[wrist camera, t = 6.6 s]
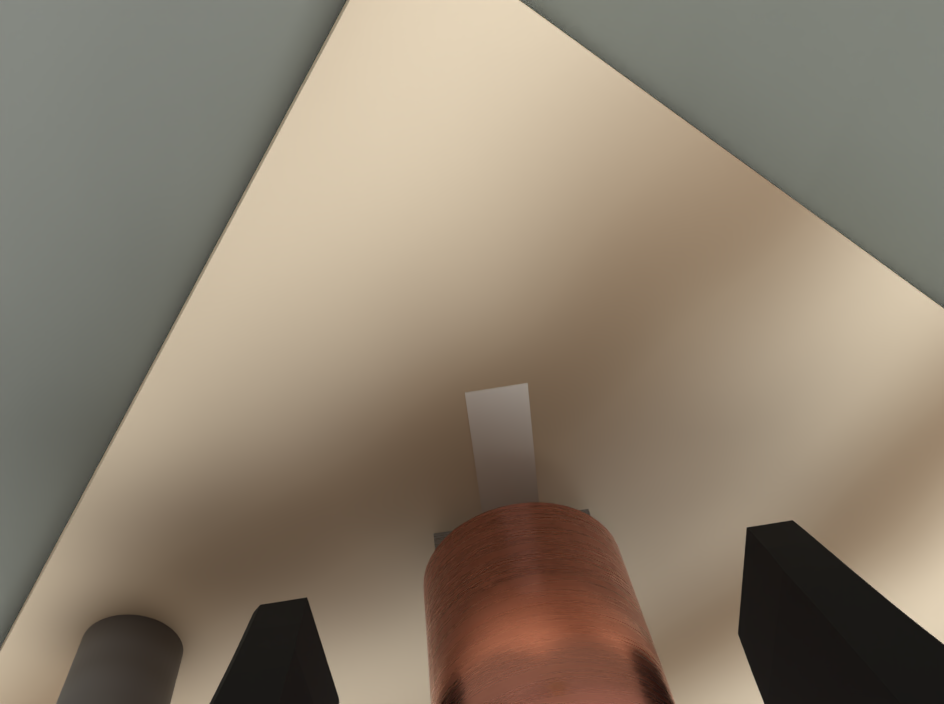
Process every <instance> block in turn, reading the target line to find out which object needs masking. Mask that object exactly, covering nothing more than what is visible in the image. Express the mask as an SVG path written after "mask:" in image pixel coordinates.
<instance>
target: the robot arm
mask: <svg viewBox="0 0 944 704" xmlns="http://www.w3.org/2000/svg"><path fill="white" fill-rule="evenodd" d="M738 636H739V638H740V641H741V644H742V647H743V649H744V652H745V655H746V658H747V660H748V663H749V666H750V668H751V671H752V674H753V676H754V679H755V682H756V684H757V687H758V689H759V692H760V694H761V697H762V699H763V702H764V704H944V644H943V643H942V642H940V641H939V640H938V639H937V638H935V637H934V636H933V635H931V634H930V633H929V632H928V631H926V630H925V629H924V628H923V627H921V626H920V625H919V624H917V623H916V622H915V621H914V620H912V619H911V618H910V617H909V616H907V615H906V614H905V613H904V612H902V611H901V610H900V609H899V608H897V607H896V606H895V605H894V604H893V603H891V602H890V601H889V600H888V599H886V598H885V597H884V596H883V595H882V594H880V593H879V592H878V591H877V590H876V589H874V588H873V587H872V586H871V585H870V584H868V583H867V582H866V581H865V580H864V579H862V578H861V577H860V576H859V575H858V574H856V573H855V572H854V571H853V570H852V569H850V568H849V567H848V566H847V565H846V564H845V563H843V562H842V561H841V560H840V559H839V558H837V557H836V556H835V555H834V554H833V553H832V552H830V551H829V550H828V549H827V548H826V547H824V546H823V545H822V544H821V543H820V542H819V541H817V540H816V539H815V538H814V537H813V536H811V535H810V534H809V533H808V532H807V531H805V530H804V529H803V528H802V527H801V526H799V525H798V524H797V523H796V522H794V521H793V520H790V521H784V522H778V523H771V524H765V525H759V526H752V527H747V530H746V542H745V554H744V566H743V578H742V590H741V602H740V614H739V626H738ZM210 704H339V697H338V694H337V691H336V687H335V684H334V681H333V678H332V675H331V672H330V668H329V665H328V662H327V659H326V656H325V652H324V649H323V646H322V643H321V640H320V637H319V633H318V630H317V627H316V624H315V621H314V618H313V614H312V611H311V608H310V605H309V602H308V598H307V597H306V598H299V599H293V600H287V601H281V602H274V603H268V604H262V605H259V607H258V608H257V609H256V610H255V611H254V612H253V614H252V617H251V619H250V621H249V623H248V625H247V628H246V630H245V632H244V634H243V636H242V638H241V641H240V643H239V645H238V647H237V649H236V651H235V653H234V655H233V657H232V660H231V662H230V664H229V666H228V668H227V670H226V672H225V674H224V676H223V678H222V680H221V682H220V684H219V686H218V688H217V690H216V692H215V694H214V696H213V698H212V700H211V702H210Z"/></svg>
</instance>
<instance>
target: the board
mask: <svg viewBox="0 0 944 704" xmlns="http://www.w3.org/2000/svg"><path fill="white" fill-rule="evenodd" d="M528 502H543V503H553V504H559V505H564V506H568V507H571V508H574V509H577V510H584V509H589V512H590V515H591V516H592V517H593V518H594V519H596V520H597V521H599V522H600V523H601V524H602V525H603V526H604V527H606V528H607V530H608V531H609V532H610V533H611V535H612V536H613V537H614V539H615V541H616V543H617V545H618V547H619V550H620V553H621V556H622V558H623V561H624V564H625V567H626V569H627V572H628V575H629V578H630V580H631V583H632V586H633V589H634V591H635V594H636V597H637V600H638V602H639V605H640V608H641V610H642V613H643V616H644V619H645V621H646V624H647V627H648V630H649V632H650V635H651V638H652V641H653V643H654V646H655V649H656V652H657V654H658V657H659V660H660V663H661V665H662V668H663V671H664V673H665V676H666V679H667V682H668V684H669V687H670V690H671V693H672V695H673V698H674V701H675V704H764V702H763V699H762V697H761V694H760V692H759V689H758V687H757V684H756V682H755V679H754V676H753V674H752V671H751V668H750V666H749V663H748V660H747V658H746V655H745V652H744V649H743V647H742V644H741V641H740V638H739V636H738V626H739V614H740V602H741V590H742V578H743V566H744V554H745V542H746V530H747V527H752V526H759V525H765V524H771V523H778V522H784V521H790V520H793V521H794V522H796V523H797V524H798V525H799V526H801V527H802V528H803V529H804V530H805V531H807V532H808V533H809V534H810V535H811V536H813V537H814V538H815V539H816V540H817V541H819V542H820V543H821V544H822V545H823V546H824V547H826V548H827V549H828V550H829V551H830V552H832V553H833V554H834V555H835V556H836V557H837V558H839V559H840V560H841V561H842V562H843V563H845V564H846V565H847V566H848V567H849V568H850V569H852V570H853V571H854V572H855V573H856V574H858V575H859V576H860V577H861V578H862V579H864V580H865V581H866V582H867V583H868V584H870V585H871V586H872V587H873V588H874V589H876V590H877V591H878V592H879V593H880V594H882V595H883V596H884V597H885V598H886V599H888V600H889V601H890V602H891V603H893V604H894V605H895V606H896V607H897V608H899V609H900V610H901V611H902V612H904V613H905V614H906V615H907V616H909V617H910V618H911V619H912V620H914V621H915V622H916V623H917V624H919V625H920V626H921V627H923V628H924V629H925V630H926V631H928V632H929V633H930V634H931V635H933V636H934V637H935V638H937V639H938V640H939V641H940V642H942V643H943V644H944V308H943V307H941V306H940V305H939V304H937V303H936V302H934V301H933V300H932V299H930V298H929V297H928V296H926V295H925V294H923V293H922V292H921V291H919V290H918V289H917V288H915V287H914V286H912V285H911V284H910V283H908V282H907V281H906V280H904V279H903V278H901V277H900V276H899V275H897V274H896V273H895V272H893V271H892V270H890V269H889V268H888V267H886V266H885V265H884V264H882V263H881V262H879V261H878V260H877V259H875V258H874V257H873V256H871V255H870V254H868V253H867V252H866V251H864V250H863V249H861V248H860V247H859V246H857V245H856V244H855V243H853V242H852V241H850V240H849V239H848V238H846V237H845V236H844V235H842V234H841V233H839V232H838V231H837V230H835V229H834V228H833V227H831V226H830V225H828V224H827V223H826V222H824V221H823V220H822V219H820V218H819V217H817V216H816V215H815V214H813V213H812V212H811V211H809V210H808V209H806V208H805V207H804V206H802V205H801V204H800V203H798V202H797V201H795V200H794V199H793V198H791V197H790V196H789V195H787V194H786V193H784V192H783V191H782V190H780V189H779V188H778V187H776V186H775V185H773V184H772V183H771V182H769V181H768V180H767V179H765V178H764V177H762V176H761V175H760V174H758V173H757V172H756V171H754V170H753V169H751V168H750V167H749V166H747V165H746V164H745V163H743V162H742V161H740V160H739V159H738V158H736V157H735V156H734V155H732V154H731V153H729V152H728V151H727V150H725V149H724V148H723V147H721V146H720V145H718V144H717V143H716V142H714V141H713V140H712V139H710V138H709V137H707V136H706V135H705V134H703V133H702V132H701V131H699V130H698V129H696V128H695V127H694V126H692V125H691V124H689V123H688V122H687V121H685V120H684V119H683V118H681V117H680V116H678V115H677V114H676V113H674V112H673V111H672V110H670V109H669V108H667V107H666V106H665V105H663V104H662V103H661V102H659V101H658V100H656V99H655V98H654V97H652V96H651V95H650V94H648V93H647V92H645V91H644V90H643V89H641V88H640V87H639V86H637V85H636V84H634V83H633V82H632V81H630V80H629V79H628V78H626V77H625V76H623V75H622V74H621V73H619V72H618V71H617V70H615V69H614V68H612V67H611V66H610V65H608V64H607V63H606V62H604V61H603V60H601V59H600V58H599V57H597V56H596V55H595V54H593V53H592V52H590V51H589V50H588V49H586V48H585V47H584V46H582V45H581V44H579V43H578V42H577V41H575V40H574V39H573V38H571V37H570V36H568V35H567V34H566V33H564V32H563V31H562V30H560V29H559V28H557V27H556V26H555V25H553V24H552V23H551V22H549V21H548V20H546V19H545V18H544V17H542V16H541V15H540V14H538V13H537V12H535V11H534V10H533V9H531V8H530V7H529V6H527V5H526V4H524V3H523V2H522V1H520V0H347V1H346V3H345V5H344V6H343V8H342V10H341V12H340V14H339V16H338V18H337V20H336V21H335V23H334V25H333V27H332V29H331V31H330V33H329V35H328V36H327V38H326V40H325V42H324V44H323V46H322V48H321V49H320V51H319V53H318V55H317V57H316V59H315V61H314V63H313V64H312V66H311V68H310V70H309V72H308V74H307V76H306V78H305V79H304V81H303V83H302V85H301V87H300V89H299V91H298V92H297V94H296V96H295V98H294V100H293V102H292V104H291V106H290V107H289V109H288V111H287V113H286V115H285V117H284V119H283V121H282V122H281V124H280V126H279V128H278V130H277V132H276V134H275V135H274V137H273V139H272V141H271V143H270V145H269V147H268V149H267V150H266V152H265V154H264V156H263V158H262V160H261V162H260V163H259V165H258V167H257V169H256V171H255V173H254V175H253V177H252V178H251V180H250V182H249V184H248V186H247V188H246V190H245V192H244V193H243V195H242V197H241V199H240V201H239V203H238V205H237V206H236V208H235V210H234V212H233V214H232V216H231V218H230V220H229V221H228V223H227V225H226V227H225V229H224V231H223V233H222V235H221V236H220V238H219V240H218V242H217V244H216V246H215V248H214V249H213V251H212V253H211V255H210V257H209V259H208V261H207V263H206V264H205V266H204V268H203V270H202V272H201V274H200V276H199V278H198V279H197V281H196V283H195V285H194V287H193V289H192V291H191V292H190V294H189V296H188V298H187V300H186V302H185V304H184V306H183V307H182V309H181V311H180V313H179V315H178V317H177V319H176V321H175V322H174V324H173V326H172V328H171V330H170V332H169V334H168V335H167V337H166V339H165V341H164V343H163V345H162V347H161V349H160V350H159V352H158V354H157V356H156V358H155V360H154V362H153V363H152V365H151V367H150V369H149V371H148V373H147V375H146V377H145V378H144V380H143V382H142V384H141V386H140V388H139V390H138V392H137V393H136V395H135V397H134V399H133V401H132V403H131V405H130V406H129V408H128V410H127V412H126V414H125V416H124V418H123V420H122V421H121V423H120V425H119V427H118V429H117V431H116V433H115V435H114V436H113V438H112V440H111V442H110V444H109V446H108V448H107V449H106V451H105V453H104V455H103V457H102V459H101V461H100V463H99V464H98V466H97V468H96V470H95V472H94V474H93V476H92V478H91V479H90V481H89V483H88V485H87V487H86V489H85V491H84V492H83V494H82V496H81V498H80V500H79V502H78V504H77V506H76V507H75V509H74V511H73V513H72V515H71V517H70V519H69V521H68V522H67V524H66V526H65V528H64V530H63V532H62V534H61V535H60V537H59V539H58V541H57V543H56V545H55V547H54V549H53V550H52V552H51V554H50V556H49V558H48V560H47V562H46V563H45V565H44V567H43V569H42V571H41V573H40V575H39V577H38V578H37V580H36V582H35V584H34V586H33V588H32V590H31V592H30V593H29V595H28V597H27V599H26V601H25V603H24V605H23V606H22V608H21V610H20V612H19V614H18V616H17V618H16V620H15V621H14V623H13V625H12V627H11V629H10V631H9V633H8V635H7V636H6V638H5V640H4V642H3V644H2V646H1V648H0V704H210V702H211V700H212V698H213V696H214V694H215V692H216V690H217V688H218V686H219V684H220V682H221V680H222V678H223V676H224V674H225V672H226V670H227V668H228V666H229V664H230V662H231V660H232V657H233V655H234V653H235V651H236V649H237V647H238V645H239V643H240V641H241V638H242V636H243V634H244V632H245V630H246V628H247V625H248V623H249V621H250V619H251V617H252V614H253V612H254V611H255V610H256V609H257V608H258V607H259V605H262V604H268V603H274V602H281V601H287V600H293V599H299V598H306V597H307V598H308V602H309V605H310V608H311V611H312V614H313V618H314V621H315V624H316V627H317V630H318V633H319V637H320V640H321V643H322V646H323V649H324V652H325V656H326V659H327V662H328V665H329V668H330V672H331V675H332V678H333V681H334V684H335V687H336V691H337V694H338V697H339V704H431V698H430V683H429V667H428V651H427V635H426V620H425V604H424V588H423V584H424V575H425V571H426V567H427V564H428V562H429V560H430V557H431V556H432V554H433V553H434V551H435V544H434V533H441V532H447V531H453V530H454V529H456V528H457V527H459V526H460V525H461V524H463V523H464V522H466V521H468V520H470V519H471V518H473V517H475V516H477V515H480V514H482V513H484V512H486V511H489V510H492V509H496V508H499V507H502V506H507V505H512V504H519V503H528Z"/></svg>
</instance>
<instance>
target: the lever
mask: <svg viewBox="0 0 944 704" xmlns="http://www.w3.org/2000/svg"><path fill="white" fill-rule="evenodd" d="M434 544H435V551H434V553H433V554H432V556H431V557H430V560H429V562H428V564H427V567H426V571H425V575H424V584H423V588H424V604H425V620H426V635H427V651H428V667H429V683H430V698H431V704H675V701H674V698H673V695H672V693H671V690H670V687H669V684H668V682H667V679H666V676H665V673H664V671H663V668H662V665H661V663H660V660H659V657H658V654H657V652H656V649H655V646H654V643H653V641H652V638H651V635H650V632H649V630H648V627H647V624H646V621H645V619H644V616H643V613H642V610H641V608H640V605H639V602H638V600H637V597H636V594H635V591H634V589H633V586H632V583H631V580H630V578H629V575H628V572H627V569H626V567H625V564H624V561H623V558H622V556H621V553H620V550H619V547H618V545H617V543H616V541H615V539H614V537H613V536H612V535H611V533H610V532H609V531H608V530H607V528H606V527H604V526H603V525H602V524H601V523H600V522H599V521H597V520H596V519H594V518H593V517H592V516H591V515H590V512H589V509H584V510H577V509H574V508H571V507H568V506H564V505H559V504H553V503H543V502H528V503H519V504H512V505H507V506H502V507H499V508H496V509H492V510H489V511H486V512H484V513H482V514H480V515H477V516H475V517H473V518H471V519H470V520H468V521H466V522H464V523H463V524H461V525H460V526H459V527H457V528H456V529H454V530H453V531H447V532H441V533H434Z"/></svg>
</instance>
